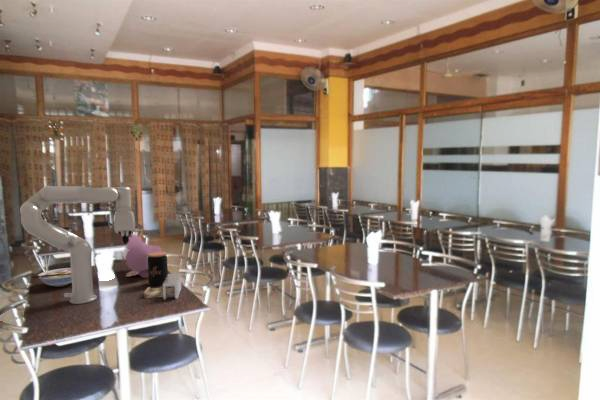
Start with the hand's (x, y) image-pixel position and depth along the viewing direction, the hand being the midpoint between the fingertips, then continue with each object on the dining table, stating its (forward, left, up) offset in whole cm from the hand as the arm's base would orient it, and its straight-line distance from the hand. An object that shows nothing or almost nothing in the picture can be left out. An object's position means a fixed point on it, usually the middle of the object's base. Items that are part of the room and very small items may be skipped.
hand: (125, 243), depth 228 cm
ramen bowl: (-42, +22, -27) cm, 55 cm away
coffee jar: (+14, +12, -27) cm, 33 cm away
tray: (+18, -8, -27) cm, 34 cm away
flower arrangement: (0, +37, -27) cm, 46 cm away
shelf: (+24, -8, -27) cm, 37 cm away
